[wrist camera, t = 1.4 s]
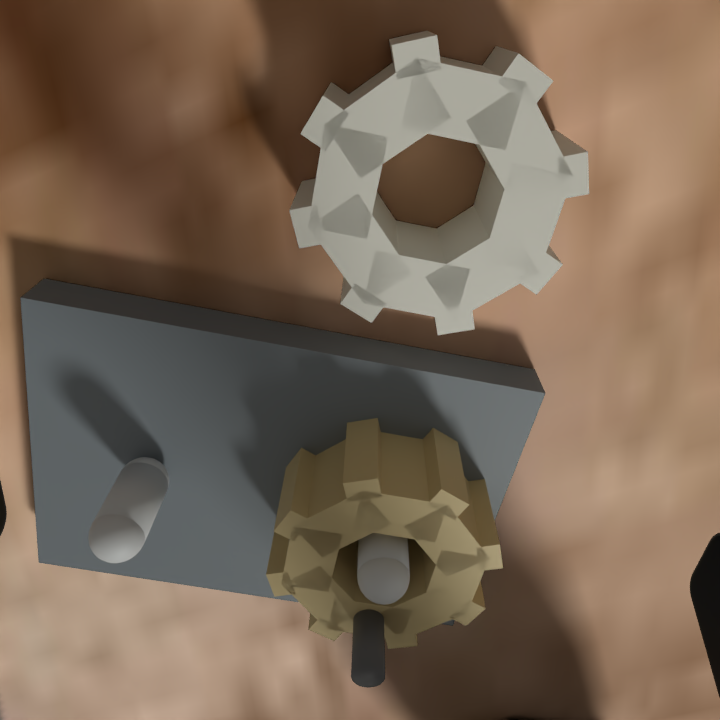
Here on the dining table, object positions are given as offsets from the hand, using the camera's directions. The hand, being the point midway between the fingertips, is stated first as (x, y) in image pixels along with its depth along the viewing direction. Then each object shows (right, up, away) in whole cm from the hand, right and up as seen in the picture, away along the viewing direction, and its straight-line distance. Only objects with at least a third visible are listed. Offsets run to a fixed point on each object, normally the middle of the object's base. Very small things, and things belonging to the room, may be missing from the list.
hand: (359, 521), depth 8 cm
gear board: (-3, -2, +15) cm, 16 cm away
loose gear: (+2, +7, +10) cm, 13 cm away
